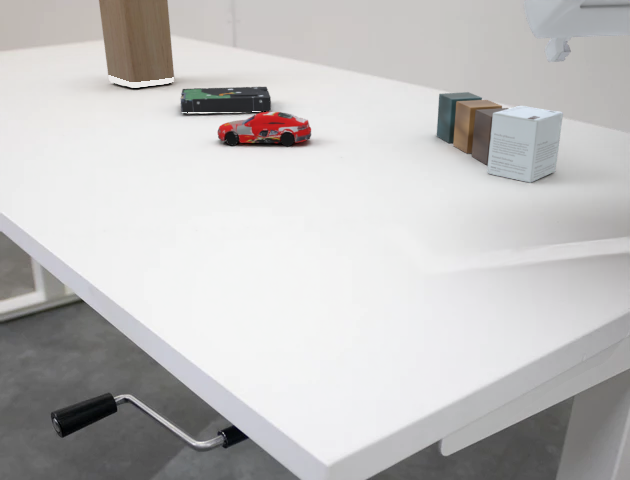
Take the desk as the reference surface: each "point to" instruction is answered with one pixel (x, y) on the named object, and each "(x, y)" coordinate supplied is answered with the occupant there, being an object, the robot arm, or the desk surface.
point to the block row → (467, 122)
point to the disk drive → (225, 99)
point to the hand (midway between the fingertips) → (596, 54)
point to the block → (137, 39)
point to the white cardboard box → (524, 143)
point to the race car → (266, 129)
